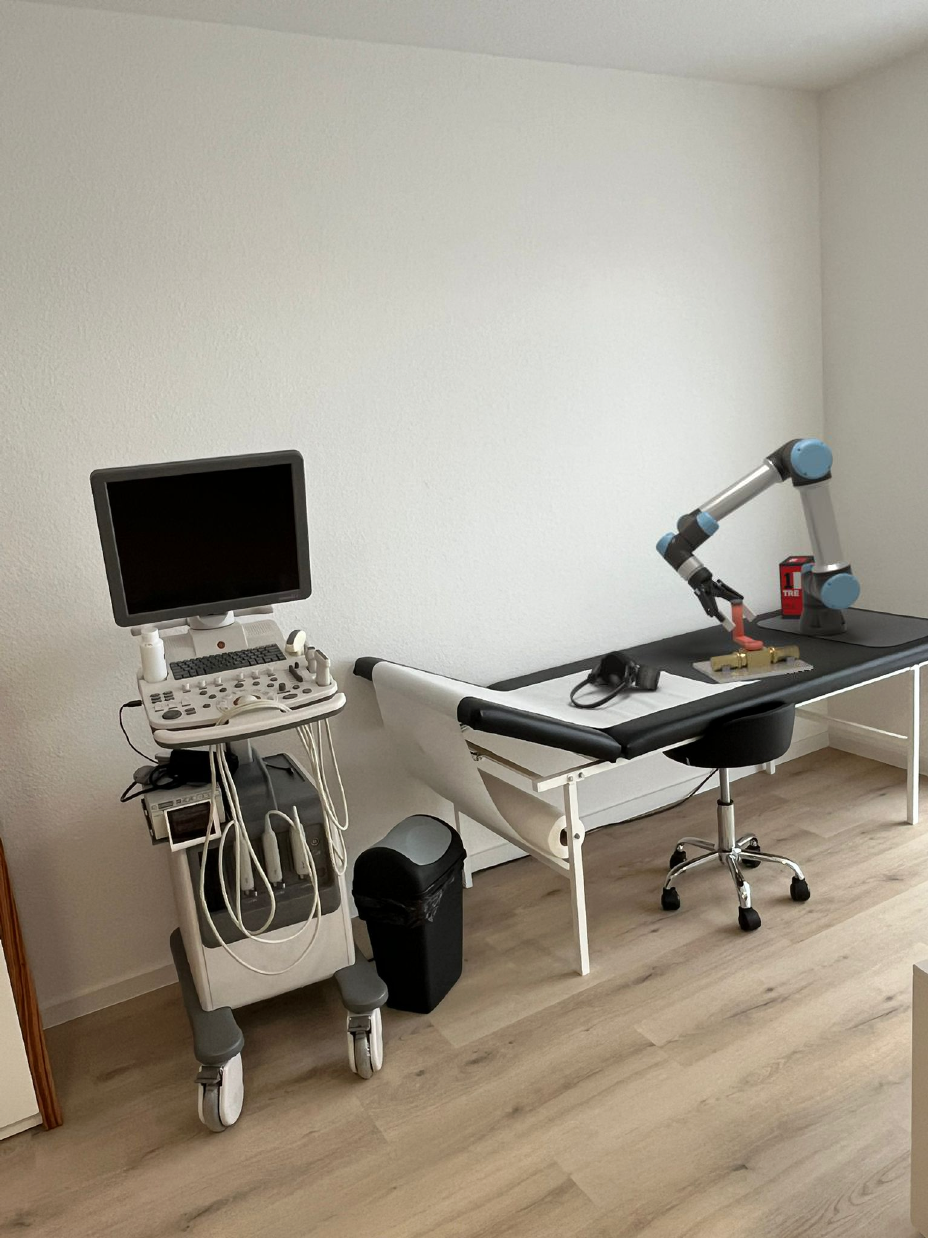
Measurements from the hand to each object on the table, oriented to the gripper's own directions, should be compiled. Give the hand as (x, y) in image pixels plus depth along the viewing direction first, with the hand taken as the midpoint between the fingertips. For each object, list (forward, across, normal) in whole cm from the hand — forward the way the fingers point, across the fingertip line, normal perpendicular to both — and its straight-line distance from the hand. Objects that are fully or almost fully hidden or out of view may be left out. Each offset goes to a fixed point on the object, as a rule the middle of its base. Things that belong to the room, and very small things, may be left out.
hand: (743, 623), depth 297 cm
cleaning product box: (0, -65, -16) cm, 67 cm away
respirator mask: (-5, +46, -22) cm, 51 cm away
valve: (+12, +7, -4) cm, 15 cm away
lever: (+6, +4, -2) cm, 7 cm away
